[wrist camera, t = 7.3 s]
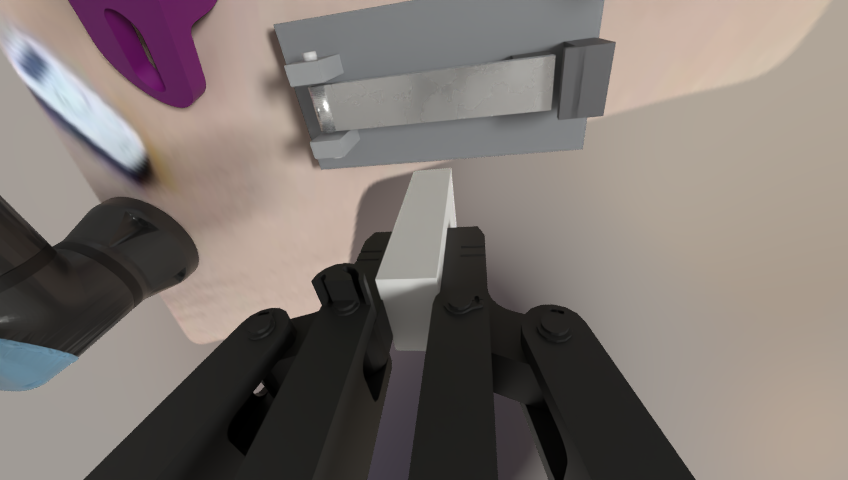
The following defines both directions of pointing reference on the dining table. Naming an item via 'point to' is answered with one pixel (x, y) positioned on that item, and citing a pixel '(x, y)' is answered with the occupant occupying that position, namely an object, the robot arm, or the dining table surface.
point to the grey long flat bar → (436, 95)
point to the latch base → (443, 48)
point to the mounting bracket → (150, 43)
